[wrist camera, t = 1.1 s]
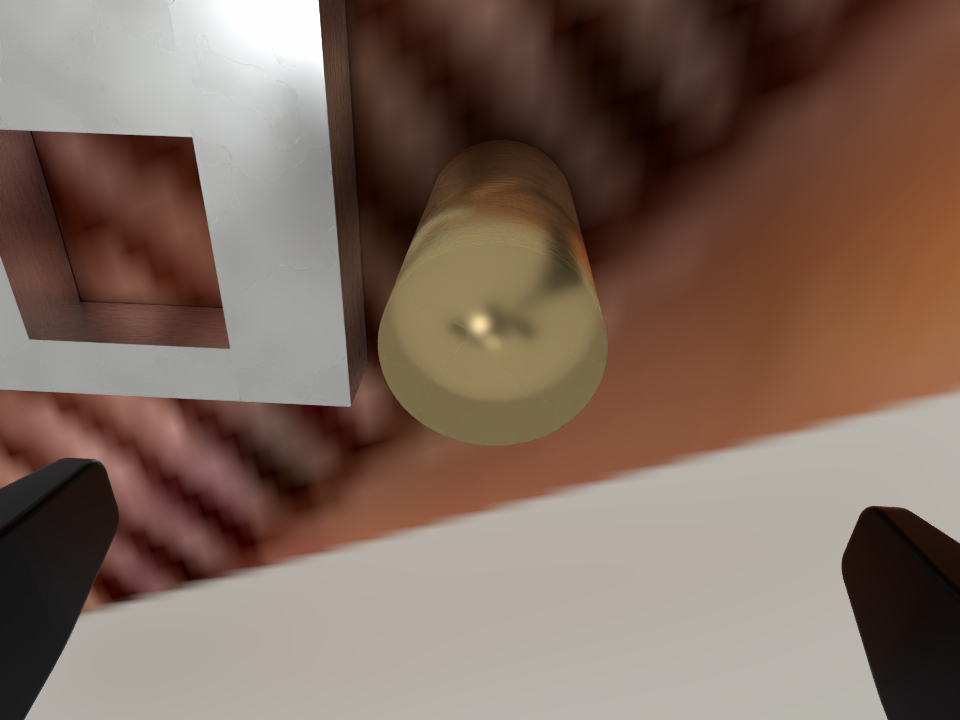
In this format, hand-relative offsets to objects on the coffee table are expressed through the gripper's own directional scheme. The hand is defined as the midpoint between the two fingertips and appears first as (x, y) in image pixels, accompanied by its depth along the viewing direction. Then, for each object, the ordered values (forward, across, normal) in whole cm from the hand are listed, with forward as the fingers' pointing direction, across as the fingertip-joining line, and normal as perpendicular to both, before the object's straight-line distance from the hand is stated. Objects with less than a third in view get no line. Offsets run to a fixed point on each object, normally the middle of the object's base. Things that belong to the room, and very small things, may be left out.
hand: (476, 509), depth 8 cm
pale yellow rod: (+12, 0, 0) cm, 12 cm away
